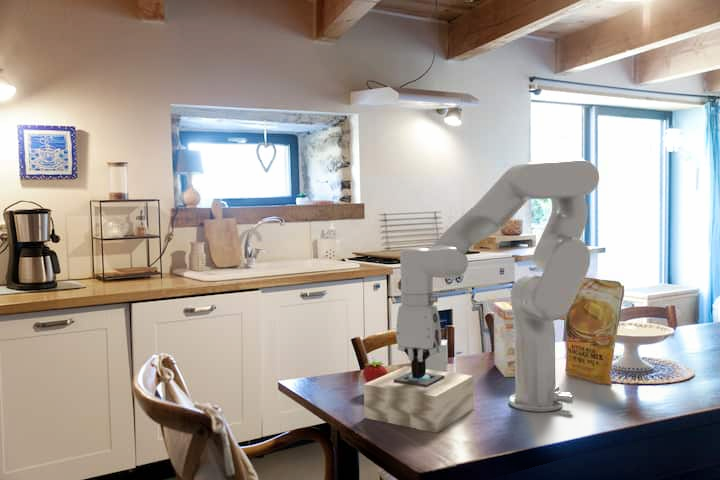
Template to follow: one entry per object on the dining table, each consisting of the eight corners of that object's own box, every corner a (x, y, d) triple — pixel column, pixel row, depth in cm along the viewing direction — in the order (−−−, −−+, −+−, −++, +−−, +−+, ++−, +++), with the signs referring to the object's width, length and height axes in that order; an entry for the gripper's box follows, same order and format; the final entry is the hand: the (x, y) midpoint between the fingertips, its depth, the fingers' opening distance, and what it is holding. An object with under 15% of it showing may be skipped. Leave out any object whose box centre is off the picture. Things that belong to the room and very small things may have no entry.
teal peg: (434, 404, 148) (433, 375, 148) (423, 410, 144) (423, 380, 144) (416, 401, 151) (415, 373, 151) (405, 407, 147) (404, 377, 147)
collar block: (473, 408, 150) (473, 373, 150) (436, 432, 135) (435, 393, 134) (406, 396, 161) (405, 363, 161) (364, 417, 146) (363, 381, 145)
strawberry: (373, 398, 160) (372, 360, 160) (359, 391, 167) (358, 355, 166) (393, 394, 163) (392, 357, 163) (378, 388, 170) (377, 351, 169)
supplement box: (447, 392, 164) (446, 345, 163) (419, 391, 165) (418, 344, 165) (448, 384, 171) (447, 339, 171) (421, 383, 173) (420, 338, 172)
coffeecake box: (529, 377, 176) (528, 308, 176) (504, 377, 177) (502, 309, 176) (517, 364, 191) (516, 301, 190) (493, 364, 192) (492, 301, 191)
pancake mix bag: (572, 368, 184) (571, 274, 182) (627, 384, 167) (626, 280, 165) (555, 372, 181) (554, 276, 179) (609, 388, 164) (608, 282, 162)
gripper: (452, 300, 145) (454, 377, 146) (398, 296, 154) (400, 369, 155) (437, 304, 139) (439, 385, 140) (381, 300, 148) (383, 376, 149)
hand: (418, 376), depth 148 cm, fingers closed
